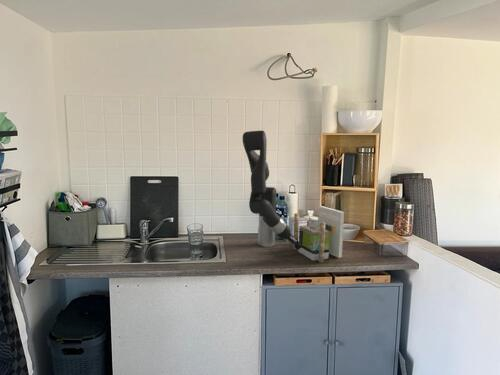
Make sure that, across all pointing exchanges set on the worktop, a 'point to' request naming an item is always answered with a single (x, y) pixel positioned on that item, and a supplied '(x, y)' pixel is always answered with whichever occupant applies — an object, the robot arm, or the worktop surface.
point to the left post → (296, 227)
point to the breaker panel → (333, 228)
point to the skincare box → (313, 221)
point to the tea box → (312, 241)
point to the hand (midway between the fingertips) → (298, 247)
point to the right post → (321, 242)
